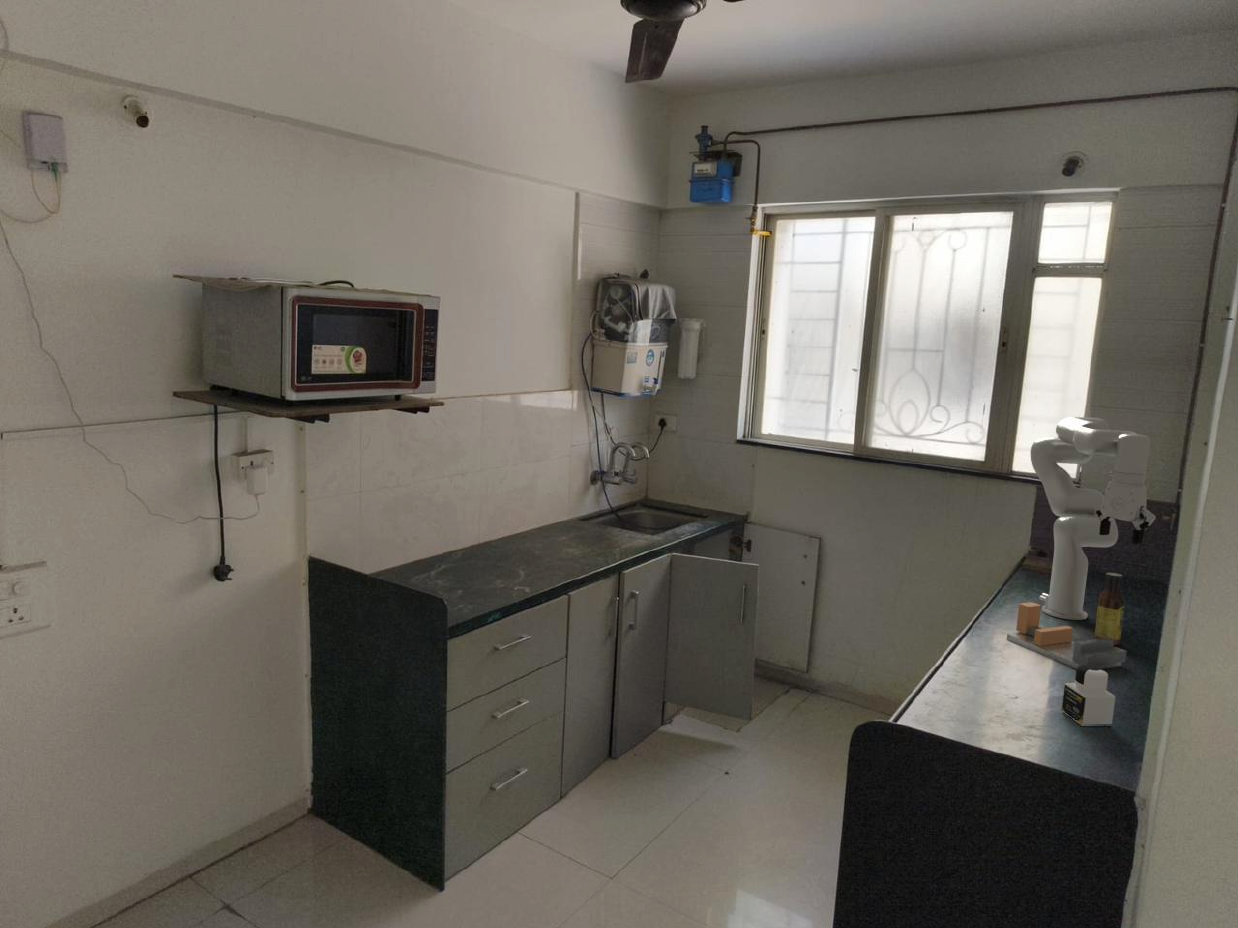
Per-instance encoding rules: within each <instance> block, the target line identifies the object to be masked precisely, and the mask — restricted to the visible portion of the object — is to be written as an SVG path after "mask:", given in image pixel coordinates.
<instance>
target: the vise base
mask: <svg viewBox="0 0 1238 928" xmlns="http://www.w3.org/2000/svg"><path fill="white" fill-rule="evenodd" d="M1006 640H1008V641H1010V642H1013V643H1015V644H1017V645H1019V646H1022V647H1024V648H1026V649H1029V650H1031V649H1032V650H1031V651H1033V650H1034V651H1033V652H1035V651H1036V653H1037V654H1040V655H1042V656H1044V657H1045V656H1046V657H1047V658H1049V659H1052V660H1055V661H1057V662H1059V663H1061V664H1063V665H1066V666H1068V667H1070V668H1073V669H1075V670H1076V668H1077V667H1078V666H1080V665H1092V666H1096V667H1099V668H1101V669H1103V670H1105V669H1110V668H1117V667H1122V663H1126V661H1127V652H1128V650H1126V649H1122V648H1119V647H1117V646H1115V645H1114V640H1113V639H1110V638H1108V637H1106V638H1099V639H1095V638H1093V639H1086V640H1085V639H1084V640H1079V641H1074V640H1072V642H1065V643H1058V644H1050V645H1043V646H1039V645H1036V644H1034V636H1032V635H1029V634H1023V633H1021V632H1019V631H1017V632H1012V633H1007V634H1006Z"/></svg>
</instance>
